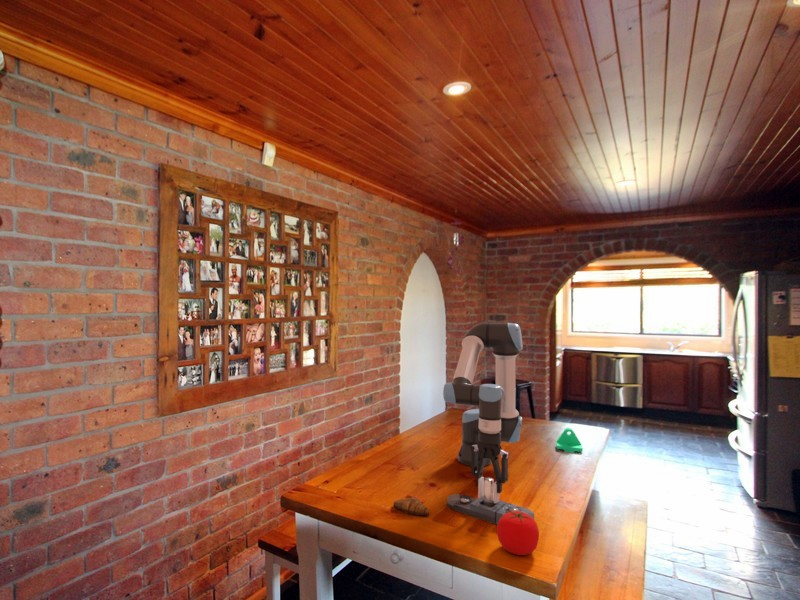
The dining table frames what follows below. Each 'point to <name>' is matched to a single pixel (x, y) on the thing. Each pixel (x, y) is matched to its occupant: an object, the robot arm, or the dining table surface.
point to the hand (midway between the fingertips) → (488, 499)
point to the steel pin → (488, 492)
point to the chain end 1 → (466, 507)
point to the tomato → (518, 533)
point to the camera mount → (569, 442)
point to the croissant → (411, 506)
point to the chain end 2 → (497, 509)
